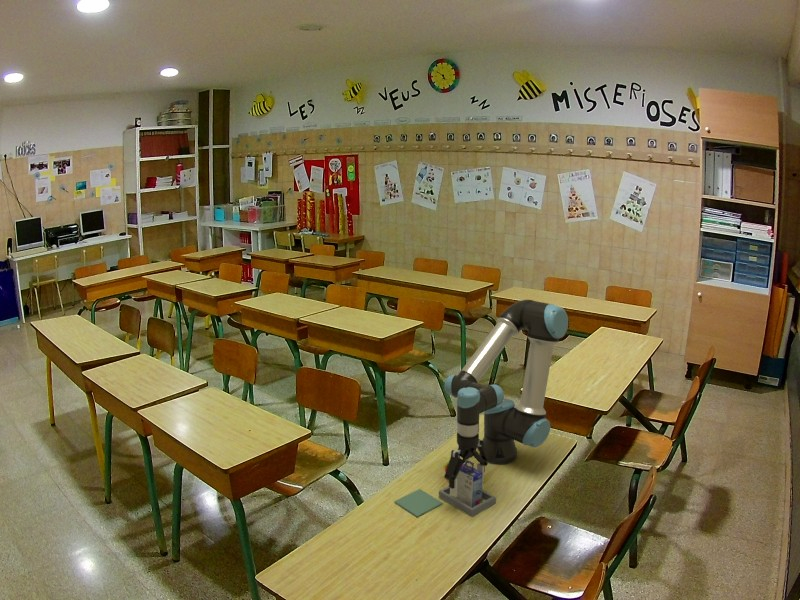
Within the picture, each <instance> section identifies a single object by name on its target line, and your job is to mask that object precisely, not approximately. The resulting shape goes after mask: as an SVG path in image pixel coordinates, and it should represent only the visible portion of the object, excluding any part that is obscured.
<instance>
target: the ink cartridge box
mask: <svg viewBox="0 0 800 600" xmlns="http://www.w3.org/2000/svg"><path fill="white" fill-rule="evenodd" d="M468 464H470V465H471V466H470V465H468ZM474 466H475V463H474V462H472V461H470V460H469V459H467V460H466V462H465V463H463V465H462V467H461V469H460V471H459V473H458V475H457V477H456V479H457V497H454V496H452V495H451V496H452V497H454V498H456V499H457V500H459V501H461V502H463V503H464V504H466V505H468V506H470V507H471V508H473V507H475V506H476V505H478V504H480V503H482V502H483V498H482V490H483V483H482V475H483V472H482V471H480V470H477V468H475V467H474Z"/></svg>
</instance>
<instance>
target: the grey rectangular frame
mask: <svg viewBox="0 0 800 600" xmlns="http://www.w3.org/2000/svg"><path fill="white" fill-rule="evenodd" d="M438 498H440V499H441V500H443V501H444V502H446V503H448V504H449V505H452V506H453V507H454V508H457V509H458V510H459V511H461V512H463V513H464V514H466V515H469V516H470V517H471V518H473V517H474V516H477V515H478V514H479V513H482V512H483V511H485V510H487V509H489V508H490V507H492V506H494V505H495V504H496V501H497V497H496V496H494V495H493V494H491V493H489V492H487V491H486V490H484V489H482V500H484V501H482V503H480V504H478V505H476V506H475V507H473V508H471V507H470V506H468V505H466V504H464V503H463V502H461V501H459V500H457V499H456V498H454V497H452V495H450V487H449V485H448V486H446V487H444V488H443V489H442V488H441V489H440V490H438Z"/></svg>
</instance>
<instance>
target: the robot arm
mask: <svg viewBox="0 0 800 600" xmlns="http://www.w3.org/2000/svg"><path fill="white" fill-rule="evenodd" d="M495 323H496V324H495V326H494V327H493V328H492V330H491V331H490V332H489V333H488V335H487V336H486V337H485V339H484V340H483V341H482V343H481V344H480V345H479V346H478V348H477V349H476V351H475V352H474V353H473V355H472V356H471V357H470V358H469V359H468V360H467V362H466V364H465V365H464V366H463V368H462V369H461V370H460V371H459V373H458V374H450V375H449V376H448V377H447V378H446V379H445V380H444V385H443V386H444V391H445V392H446V394H447V395H450V396H451V397H453V398H456V444H457V445H458V448H457V450H454V449H452V450H451V452H450V458H449V460H448V462H449V464H448V467H447V470H446V473H444V476H443V478H444V479H446V480H447V481H448V486H449V487H450V494H449V495H451V496H454V497H457V479H456V477H457V475H458V473H459V471H460V469H461V467H462V465H463V463H464V464H465V462H466V460H469V459H471V458H474V459H475V460H476V461H477V462H478V463H477V464H476V469H477V470H480V471H482V472H483V475H482V484H483V483H485V471H486V466H488V465H489V463H490V464H492V465H493V464H495V465H507V464H511V463H513V462H515V461H516V460H517V458H518V449H517V447H516V443H515V441H516V442H518V443H520V444H523V445H524V446H527V447H530V448H538V447H540V446H541V445H542V444H544V442H545V441H546V440H547V439H548V437H549V434H550V431H551V422H550V421H549V420H548V419H547V418H546V416H547V411H546V409H545V408H544V403H545V398H546V391H547V387H548V386H547V385H548V381H549V373H550V370H551V369H550V368H551V362H552V356H553V351H554V346H555V345H556V344H558V343H559V341H560V339H561V338H563V337H565V335H566V333H567V331H568V329H569V328H568V327H569V317H568V314H567V312H566V310H565V309H564V308H563V307H561V306H559V305H556V304H553V303H548V302H547V303H546V302H543V301H542V302H541V301H538V300H537V301H536V300H533V299H522V300H518V301H516V302H514V303H513V304H511V305H509V306H508V307H506V309H504V310H503V311H502V312H501V313H500V314H499V316H498V317H497V319H496V320H495ZM523 330H525V331H527V336H526V338H527V339H528V340H529V343H530V344H529V348H528V354H527V360H526V366H525V371H524V378H523V382H522V383H523V385H522V391H521V396H520V403H518V404H515V402H514V401H513V400H511V399H509V398H505V394H504V391H503V389H502V387H500V385H498V384H488V385H487V386H486V385H484V384H481V383H479V382H480V380H481V379H482V378H483V376H484V375H485V373H486V372H487V371H488V369H489V368H490V367H491V365H492V364H493V363H494V362H495V360H496V359H497V357H499V355H500V354H501V352H502V351H503V350H504V348H505V347H506V345H507V344H508V343H509V342H510V340H511V339H512V338H513V337H515V336H517V335H518V334H519V333H520V332H521V331H523ZM482 413H483V418H484V419H483V438H482V439H480V414H482ZM477 450H478V451H477Z"/></svg>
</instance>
